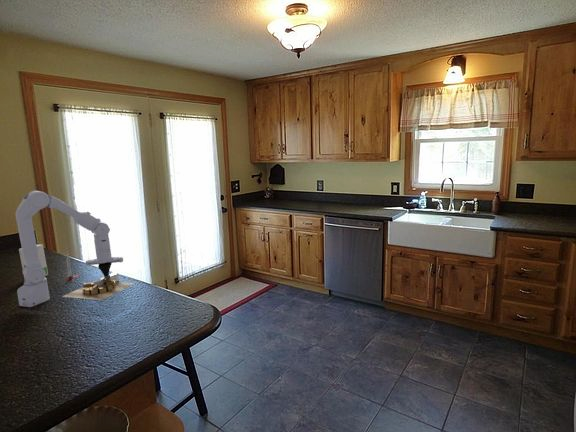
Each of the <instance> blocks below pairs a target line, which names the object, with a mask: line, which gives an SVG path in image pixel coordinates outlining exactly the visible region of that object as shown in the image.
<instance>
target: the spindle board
mask: <svg viewBox="0 0 576 432" xmlns="http://www.w3.org/2000/svg"><path fill="white" fill-rule="evenodd" d="M93 282H94V281H93ZM115 284H116V287H115V288H114V289H113V290H111V291H109V292H108V291H107V292H106V293H102V294H100V293H99V294H96V295H85V294H84V293H83V291H82V287H80V288H77V289H76V290H74V291H71V292H69V293H67V294H65V295H62V297H63V298H72V299H73V298H75V299H85V300H93V301H95V300H96V301H103V300H106V299H107V298H109V297H112V296H114V295H115V294H117V293H120V292H122V291H123V290H125V289H127V288H129V287H131V286H133V285H134V284H135V282H134V283H133V282H124V281H123V282H122V281H116V282H115ZM94 285H98V287H101V286H104V282H103V280H100V279H99V281H98V280H95V282H94Z"/></svg>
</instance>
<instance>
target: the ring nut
mask: <svg viewBox="0 0 576 432" xmlns="http://www.w3.org/2000/svg"><path fill="white" fill-rule="evenodd" d="M105 279H106V280H105ZM99 280H103V282H104V286H101V287H98V285H94V282H95V281H96V280H95V281H92V282H85V283H84V282H83V284H82V287H81V288H82V291H83V293H84V294H85V295H96V294H99V293H100V294H102V293H106V292H107V291H108V292H109V291H111V290H113V289H114V288H115V287H116V284H115V282H120V276H119V272H111V273H109V275H108V276H106V277H104V276H103V277H100V278H99ZM99 280H97V281H99Z"/></svg>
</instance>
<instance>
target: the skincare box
mask: <svg viewBox="0 0 576 432" xmlns="http://www.w3.org/2000/svg"><path fill="white" fill-rule="evenodd" d="M36 245H37V250H38V256H39V259H40V263H41V267H42V268H43V269H44V270H45V272H46V276H48V275H49V271H48V265H47V259H46V255H45V249H44V244H36ZM18 252H19V253H18V254H19V257H20V262H21V268H22V270H23V268H24V257H23V252H22V247H21V248H19V249H18ZM23 278H24V279H23V280H24V281H25V280H26V277H25V276H24V275H23Z"/></svg>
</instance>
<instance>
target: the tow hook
mask: <svg viewBox="0 0 576 432" xmlns="http://www.w3.org/2000/svg"><path fill="white" fill-rule="evenodd" d="M66 267H67V276H66V277H65V279H64V280H65V281H71V282H72V281H74V278H76V277H78V276H79V274H77V275H76V274H75V275H73V273H72V269H71V259H70V256H69V254H68V253H67V254H66Z"/></svg>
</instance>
